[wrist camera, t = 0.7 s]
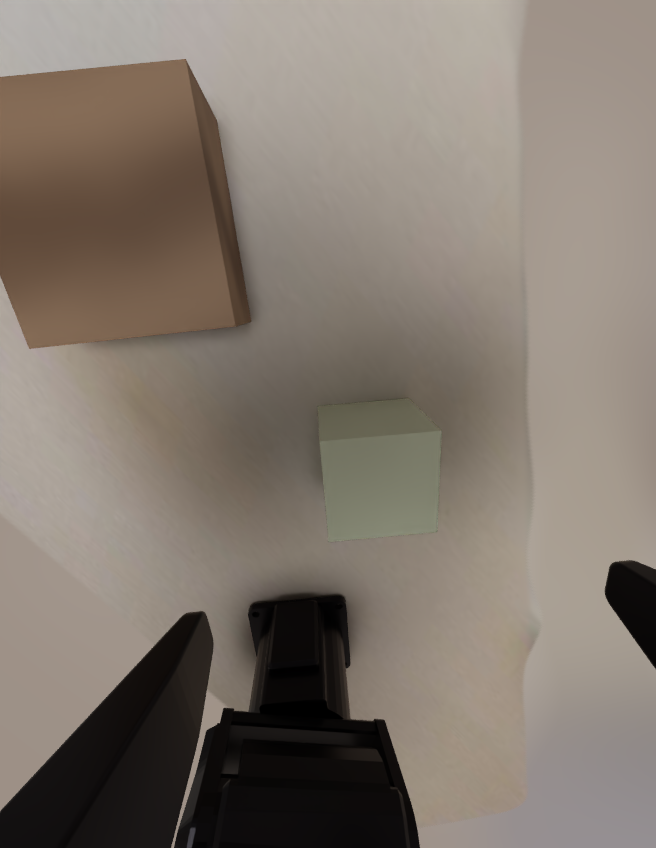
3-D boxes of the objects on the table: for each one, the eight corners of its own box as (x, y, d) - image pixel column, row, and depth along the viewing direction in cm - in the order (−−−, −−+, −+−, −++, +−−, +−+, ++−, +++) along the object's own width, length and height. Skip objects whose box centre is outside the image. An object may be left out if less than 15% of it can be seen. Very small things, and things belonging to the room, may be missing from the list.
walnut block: (252, 321, 17) (235, 326, 13) (92, 338, 17) (29, 348, 13) (218, 123, 14) (185, 58, 10) (27, 142, 14) (-76, 84, 10)
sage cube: (407, 478, 20) (437, 532, 15) (324, 485, 20) (328, 542, 15) (408, 397, 18) (441, 430, 14) (317, 405, 18) (319, 441, 14)
